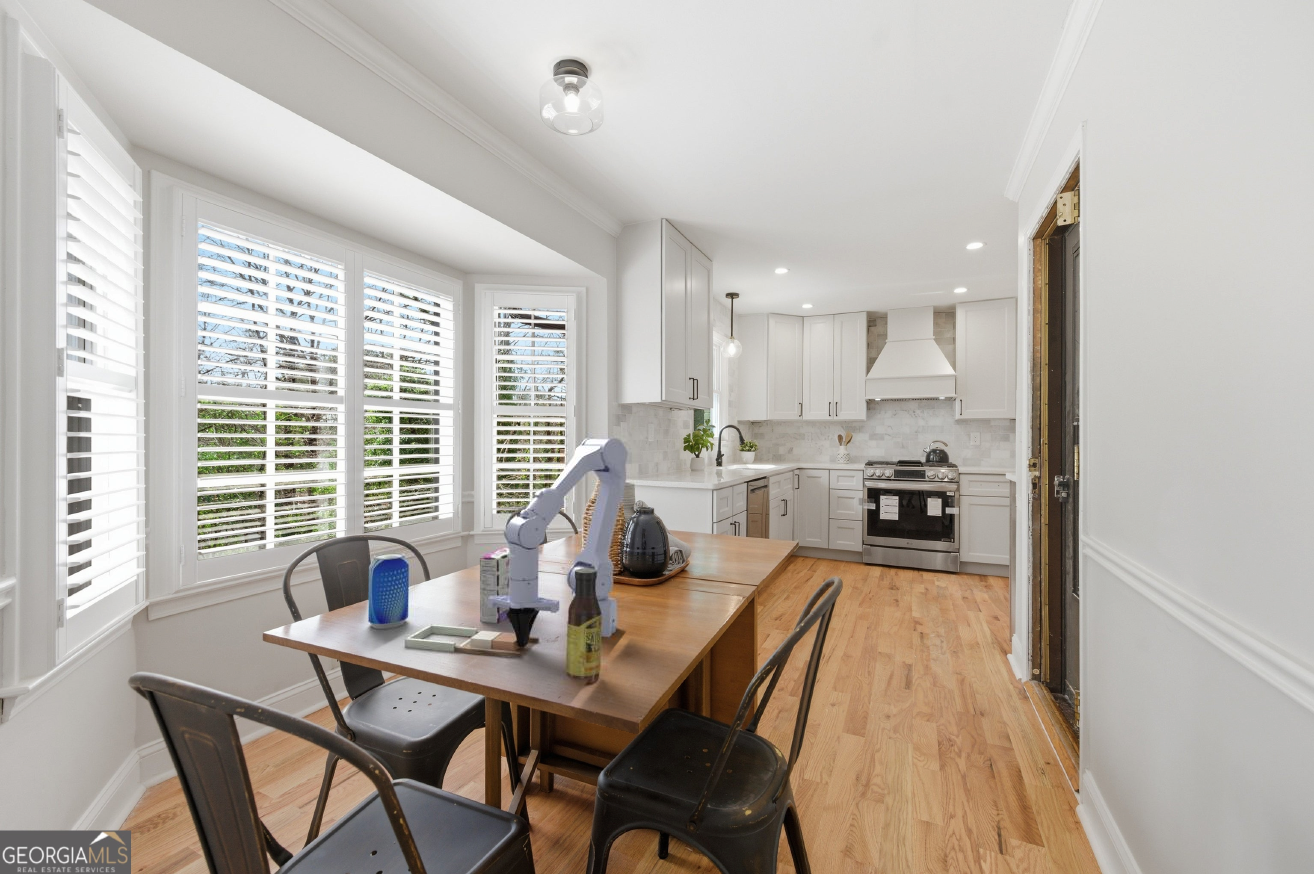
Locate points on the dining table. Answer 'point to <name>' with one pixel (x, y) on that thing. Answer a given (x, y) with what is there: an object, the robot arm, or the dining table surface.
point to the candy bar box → (494, 584)
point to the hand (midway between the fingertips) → (523, 645)
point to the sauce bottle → (584, 629)
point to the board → (515, 654)
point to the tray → (418, 642)
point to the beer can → (388, 590)
